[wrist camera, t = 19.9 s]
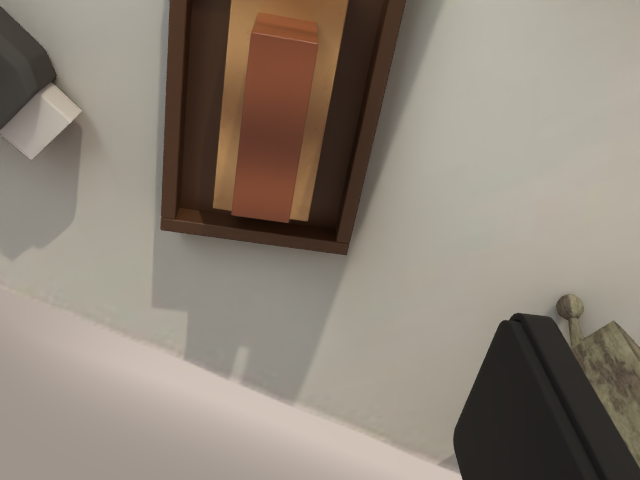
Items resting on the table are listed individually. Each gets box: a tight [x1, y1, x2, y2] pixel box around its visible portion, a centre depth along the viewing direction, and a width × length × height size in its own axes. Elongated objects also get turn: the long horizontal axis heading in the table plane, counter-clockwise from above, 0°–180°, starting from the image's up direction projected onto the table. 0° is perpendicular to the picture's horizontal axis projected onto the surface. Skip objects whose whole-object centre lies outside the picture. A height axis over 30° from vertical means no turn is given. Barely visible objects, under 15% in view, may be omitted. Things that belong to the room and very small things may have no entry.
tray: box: [161, 0, 406, 255], centre depth 30 cm, size 18×11×2 cm, turn 170°
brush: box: [213, 0, 349, 223], centre depth 28 cm, size 12×5×7 cm, turn 170°
